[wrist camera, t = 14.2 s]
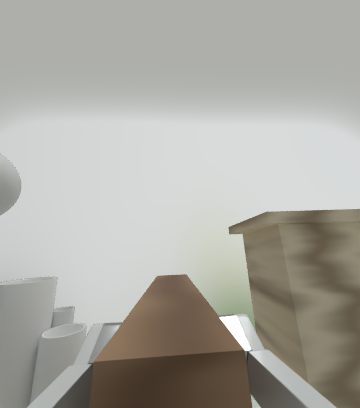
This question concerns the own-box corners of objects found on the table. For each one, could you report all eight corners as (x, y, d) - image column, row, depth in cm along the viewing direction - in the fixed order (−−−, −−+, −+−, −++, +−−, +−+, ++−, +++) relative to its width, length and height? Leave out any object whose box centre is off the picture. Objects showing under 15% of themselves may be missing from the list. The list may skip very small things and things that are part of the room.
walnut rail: (72, 617, 3) (93, 361, 4) (157, 308, 22) (157, 276, 24) (274, 585, 4) (244, 349, 5) (187, 307, 23) (186, 274, 24)
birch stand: (361, 747, 8) (266, 211, 15) (257, 478, 18) (228, 227, 25) (559, 698, 9) (382, 208, 16) (356, 465, 18) (301, 224, 25)
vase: (-86, 547, 14) (-23, 287, 20) (-13, 452, 21) (20, 278, 26) (64, 500, 17) (85, 279, 22) (87, 428, 24) (98, 273, 29)
